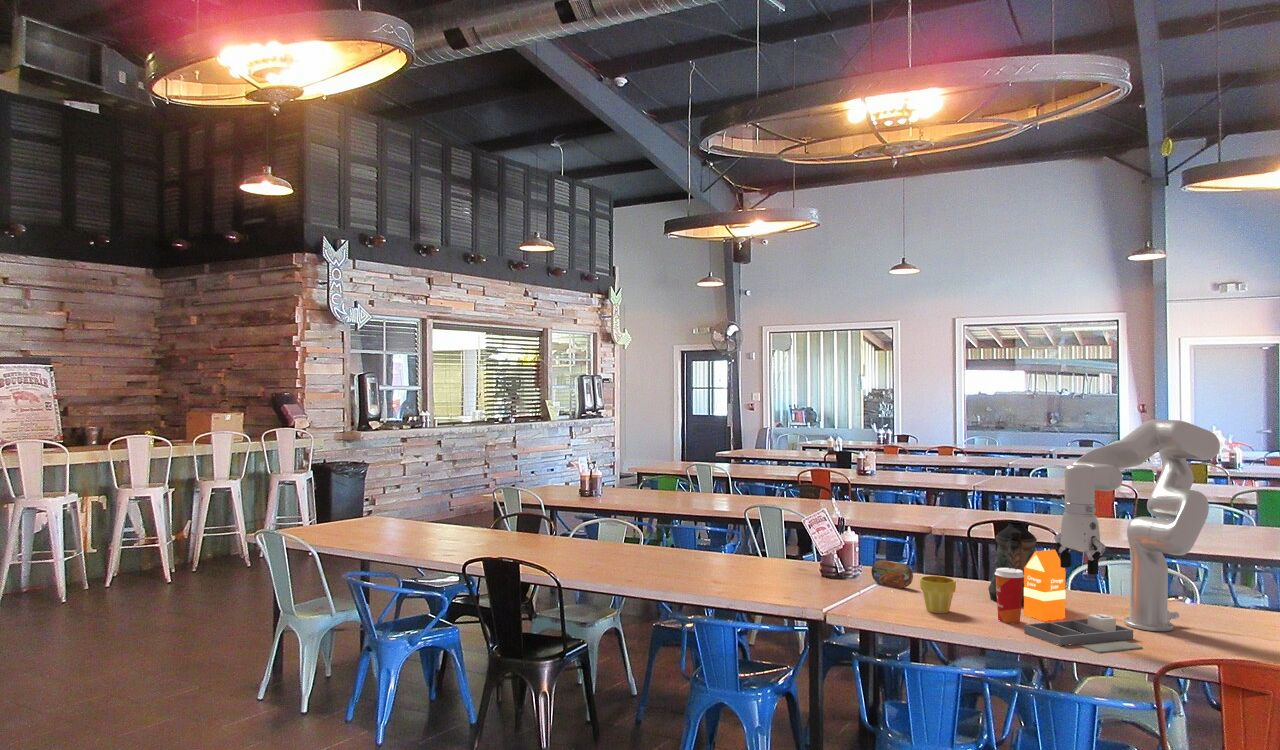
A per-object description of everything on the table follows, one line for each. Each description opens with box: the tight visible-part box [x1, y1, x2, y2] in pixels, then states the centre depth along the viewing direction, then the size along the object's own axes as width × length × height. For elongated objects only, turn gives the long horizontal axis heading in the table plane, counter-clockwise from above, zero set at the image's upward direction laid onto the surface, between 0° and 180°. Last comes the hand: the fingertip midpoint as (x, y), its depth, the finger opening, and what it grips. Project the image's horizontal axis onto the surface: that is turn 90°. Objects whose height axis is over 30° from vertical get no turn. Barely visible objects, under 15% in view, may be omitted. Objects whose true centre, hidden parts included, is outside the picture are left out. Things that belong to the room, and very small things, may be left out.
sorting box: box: [1024, 618, 1134, 647], centre depth 253 cm, size 25×13×2 cm, turn 109°
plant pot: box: [919, 575, 957, 614], centre depth 279 cm, size 10×10×10 cm
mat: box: [1079, 640, 1143, 654], centre depth 242 cm, size 15×6×1 cm, turn 109°
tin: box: [870, 559, 914, 589], centre depth 314 cm, size 15×3×8 cm, turn 43°
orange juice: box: [1023, 549, 1067, 622], centre depth 274 cm, size 8×9×20 cm
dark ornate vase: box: [987, 522, 1038, 607], centre depth 293 cm, size 16×19×25 cm
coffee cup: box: [995, 568, 1025, 624], centre depth 268 cm, size 8×8×15 cm
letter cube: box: [1087, 613, 1117, 632], centre depth 256 cm, size 5×5×5 cm
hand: (1079, 570), depth 253 cm, fingers open, 9 cm apart
